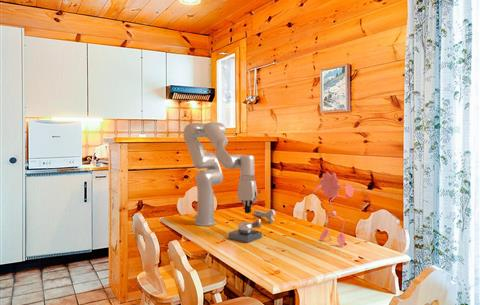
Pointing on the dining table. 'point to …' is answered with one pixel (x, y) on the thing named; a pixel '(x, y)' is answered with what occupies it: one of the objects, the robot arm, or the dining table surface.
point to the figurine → (331, 187)
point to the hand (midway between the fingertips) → (247, 212)
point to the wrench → (266, 215)
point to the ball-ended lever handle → (248, 226)
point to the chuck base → (245, 236)
